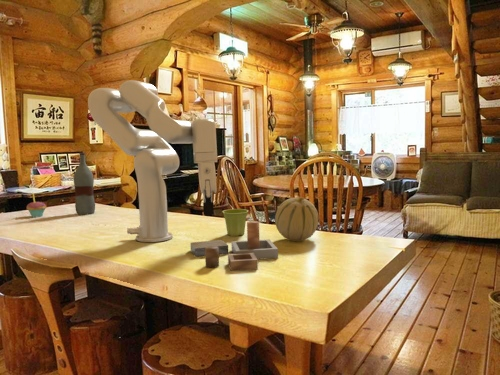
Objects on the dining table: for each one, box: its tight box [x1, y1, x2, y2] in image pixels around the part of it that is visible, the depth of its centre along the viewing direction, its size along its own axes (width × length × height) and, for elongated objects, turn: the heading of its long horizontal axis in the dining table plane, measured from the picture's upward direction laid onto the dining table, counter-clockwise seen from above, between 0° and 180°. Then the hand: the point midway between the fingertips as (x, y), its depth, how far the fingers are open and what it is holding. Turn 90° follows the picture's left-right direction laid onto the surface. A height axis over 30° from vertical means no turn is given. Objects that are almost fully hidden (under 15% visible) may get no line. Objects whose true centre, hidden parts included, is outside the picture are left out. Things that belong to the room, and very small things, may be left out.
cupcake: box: [26, 193, 47, 218], centre depth 197 cm, size 9×8×12 cm
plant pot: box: [221, 208, 249, 237], centre depth 149 cm, size 9×9×9 cm
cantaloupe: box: [274, 196, 320, 242], centre depth 138 cm, size 15×15×15 cm
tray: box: [231, 239, 279, 260], centre depth 122 cm, size 12×12×3 cm
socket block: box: [227, 253, 259, 272], centre depth 110 cm, size 7×7×2 cm
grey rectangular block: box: [190, 239, 229, 258], centre depth 125 cm, size 10×8×3 cm
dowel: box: [246, 220, 261, 250], centre depth 122 cm, size 4×4×9 cm
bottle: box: [73, 152, 96, 216], centre depth 202 cm, size 9×9×30 cm
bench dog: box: [204, 246, 220, 269], centre depth 111 cm, size 4×4×5 cm
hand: (208, 214), depth 134 cm, fingers closed
